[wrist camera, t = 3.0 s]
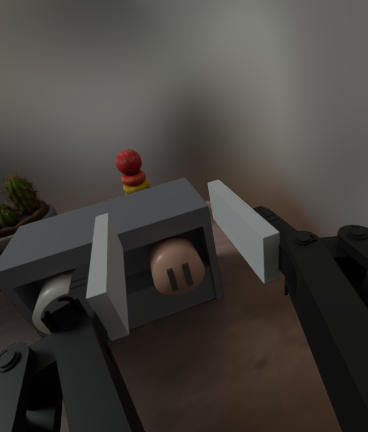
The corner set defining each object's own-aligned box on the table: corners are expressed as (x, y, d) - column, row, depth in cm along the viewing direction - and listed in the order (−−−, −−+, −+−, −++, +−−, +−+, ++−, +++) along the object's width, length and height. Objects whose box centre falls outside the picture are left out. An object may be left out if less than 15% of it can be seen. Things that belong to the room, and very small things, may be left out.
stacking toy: (128, 239, 54) (96, 160, 44) (137, 220, 60) (111, 147, 51) (162, 236, 52) (136, 153, 43) (167, 216, 59) (147, 140, 49)
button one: (56, 314, 30) (31, 280, 27) (103, 297, 31) (84, 263, 28) (48, 345, 26) (18, 311, 23) (102, 326, 27) (80, 290, 24)
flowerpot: (8, 296, 46) (-69, 206, 35) (5, 259, 57) (-54, 183, 47) (82, 256, 52) (34, 170, 42) (66, 230, 63) (26, 158, 53)
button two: (155, 279, 32) (142, 244, 29) (198, 264, 33) (189, 229, 29) (161, 304, 28) (147, 267, 25) (209, 287, 29) (201, 249, 26)
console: (70, 302, 41) (19, 226, 33) (201, 257, 44) (184, 177, 36) (60, 358, 33) (-12, 275, 24) (223, 297, 36) (208, 205, 27)
